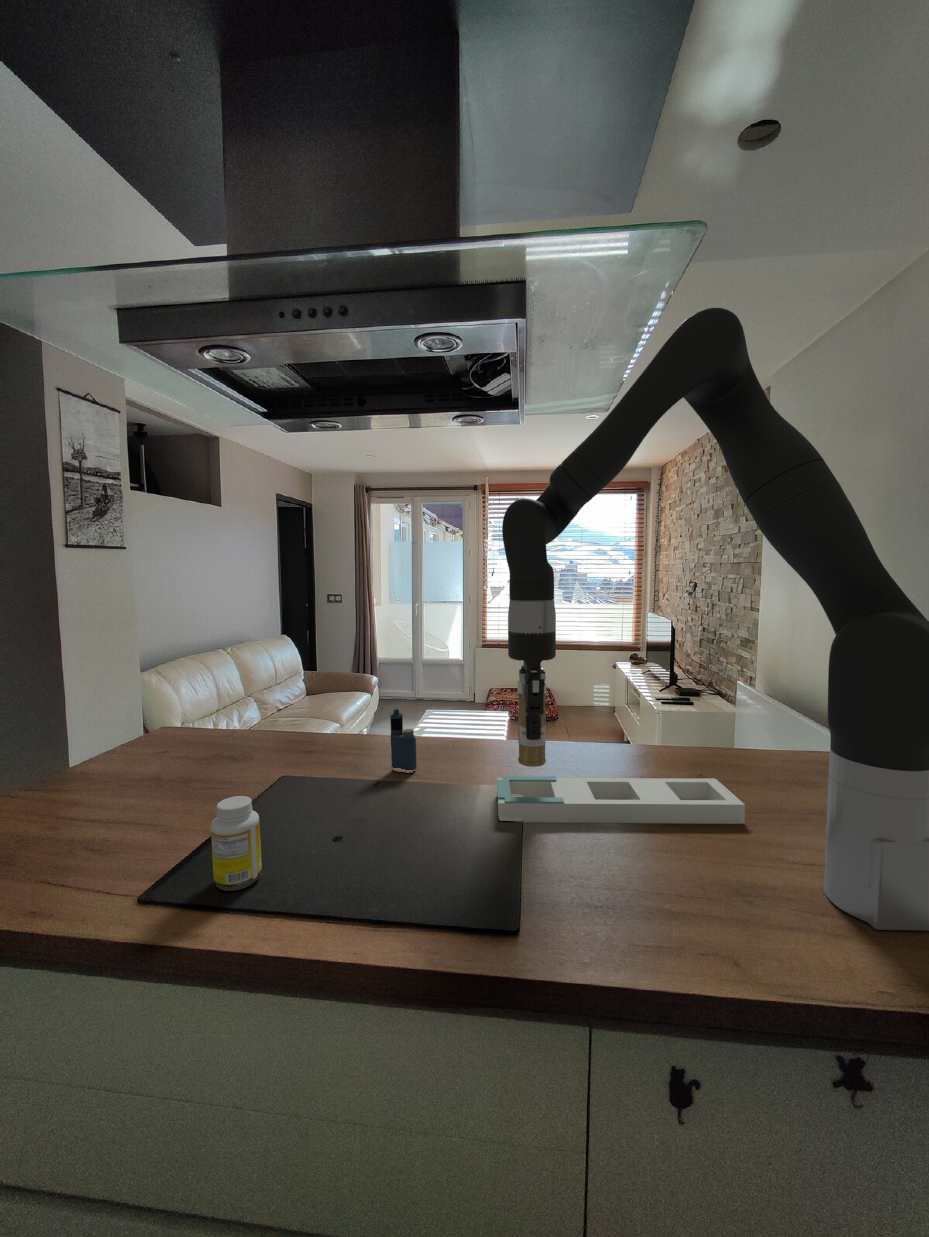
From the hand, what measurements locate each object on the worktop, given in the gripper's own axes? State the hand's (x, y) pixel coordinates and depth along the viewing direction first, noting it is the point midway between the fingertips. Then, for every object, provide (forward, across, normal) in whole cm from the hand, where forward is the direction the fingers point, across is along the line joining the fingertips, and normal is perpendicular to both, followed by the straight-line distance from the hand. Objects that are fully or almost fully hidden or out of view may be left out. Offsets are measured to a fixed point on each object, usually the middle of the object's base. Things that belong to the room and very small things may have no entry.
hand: (531, 733), depth 83 cm
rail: (+12, 0, -13) cm, 18 cm away
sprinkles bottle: (+5, 0, 0) cm, 5 cm away
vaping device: (+13, +16, +24) cm, 31 cm away
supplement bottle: (+13, -21, +39) cm, 46 cm away
